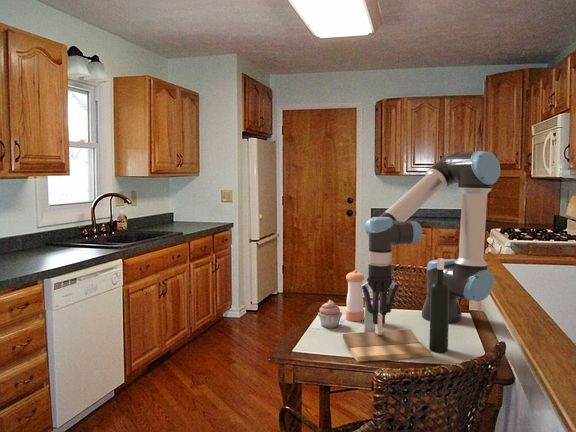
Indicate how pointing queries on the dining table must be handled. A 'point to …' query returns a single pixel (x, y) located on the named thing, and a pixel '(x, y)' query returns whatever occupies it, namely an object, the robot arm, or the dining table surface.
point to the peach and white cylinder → (354, 297)
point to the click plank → (379, 338)
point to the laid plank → (389, 352)
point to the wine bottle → (439, 312)
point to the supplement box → (370, 319)
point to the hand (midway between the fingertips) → (378, 333)
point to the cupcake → (330, 315)
